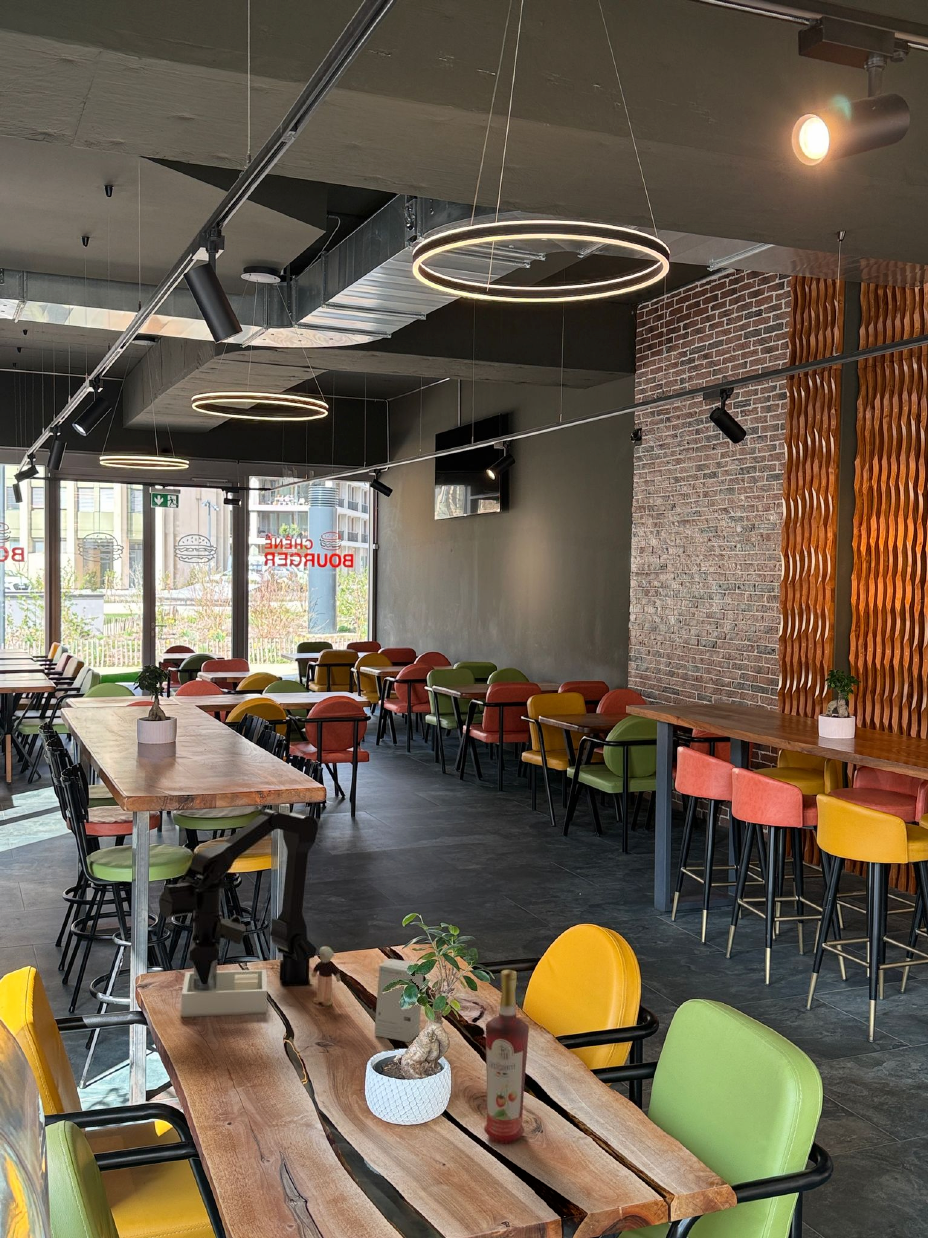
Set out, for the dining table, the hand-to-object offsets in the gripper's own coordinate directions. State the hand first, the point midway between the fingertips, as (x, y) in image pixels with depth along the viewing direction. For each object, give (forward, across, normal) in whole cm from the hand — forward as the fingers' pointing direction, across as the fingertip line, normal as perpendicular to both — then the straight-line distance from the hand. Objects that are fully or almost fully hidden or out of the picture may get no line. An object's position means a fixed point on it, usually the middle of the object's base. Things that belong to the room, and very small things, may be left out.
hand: (205, 980), depth 242 cm
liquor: (+6, -68, -52) cm, 86 cm away
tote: (+5, 0, -4) cm, 7 cm away
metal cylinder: (+2, 0, 0) cm, 2 cm away
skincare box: (+6, -22, -40) cm, 46 cm away
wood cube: (+5, 0, -9) cm, 10 cm away
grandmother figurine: (+6, -2, -26) cm, 27 cm away
